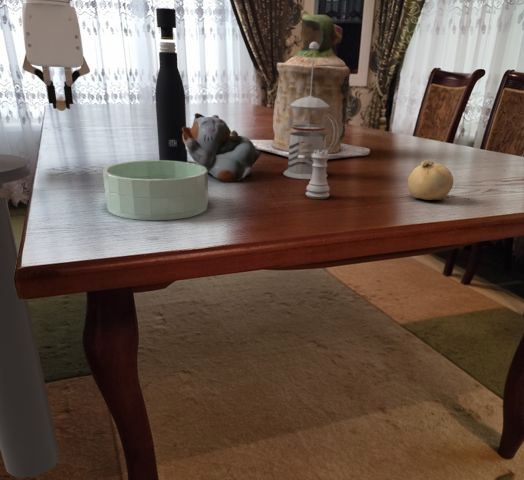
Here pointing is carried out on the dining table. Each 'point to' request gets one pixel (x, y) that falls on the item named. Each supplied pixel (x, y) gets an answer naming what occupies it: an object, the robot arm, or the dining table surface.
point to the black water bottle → (169, 94)
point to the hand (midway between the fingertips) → (61, 107)
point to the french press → (307, 135)
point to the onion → (430, 181)
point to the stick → (61, 103)
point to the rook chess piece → (318, 176)
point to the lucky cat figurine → (219, 148)
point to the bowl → (156, 189)
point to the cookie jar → (313, 90)
